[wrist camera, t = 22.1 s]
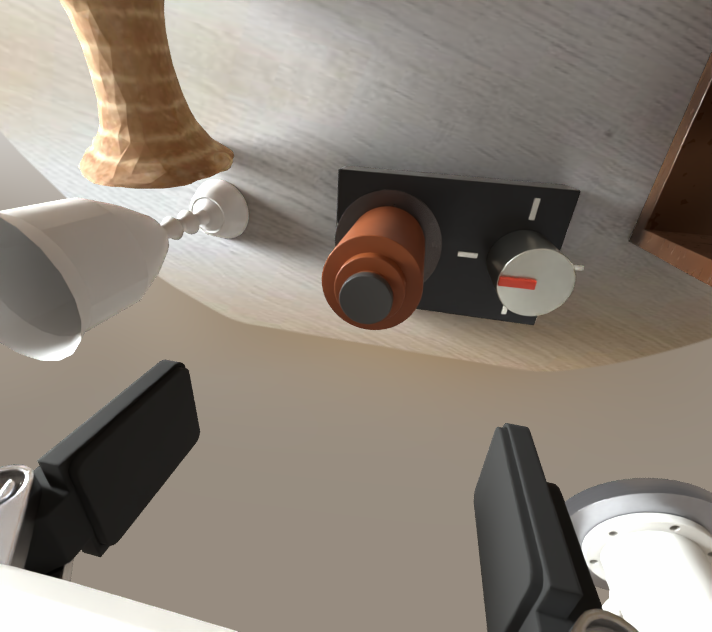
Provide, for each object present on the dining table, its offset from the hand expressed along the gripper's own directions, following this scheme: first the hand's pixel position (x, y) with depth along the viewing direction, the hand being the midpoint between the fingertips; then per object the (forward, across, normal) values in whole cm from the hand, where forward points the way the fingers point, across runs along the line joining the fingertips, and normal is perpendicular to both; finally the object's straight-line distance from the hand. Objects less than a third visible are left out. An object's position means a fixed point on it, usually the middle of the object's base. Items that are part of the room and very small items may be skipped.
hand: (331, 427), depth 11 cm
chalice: (+21, +16, -1) cm, 27 cm away
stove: (+22, -3, -1) cm, 22 cm away
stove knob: (+18, -9, -1) cm, 21 cm away
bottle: (+18, +1, -1) cm, 18 cm away
